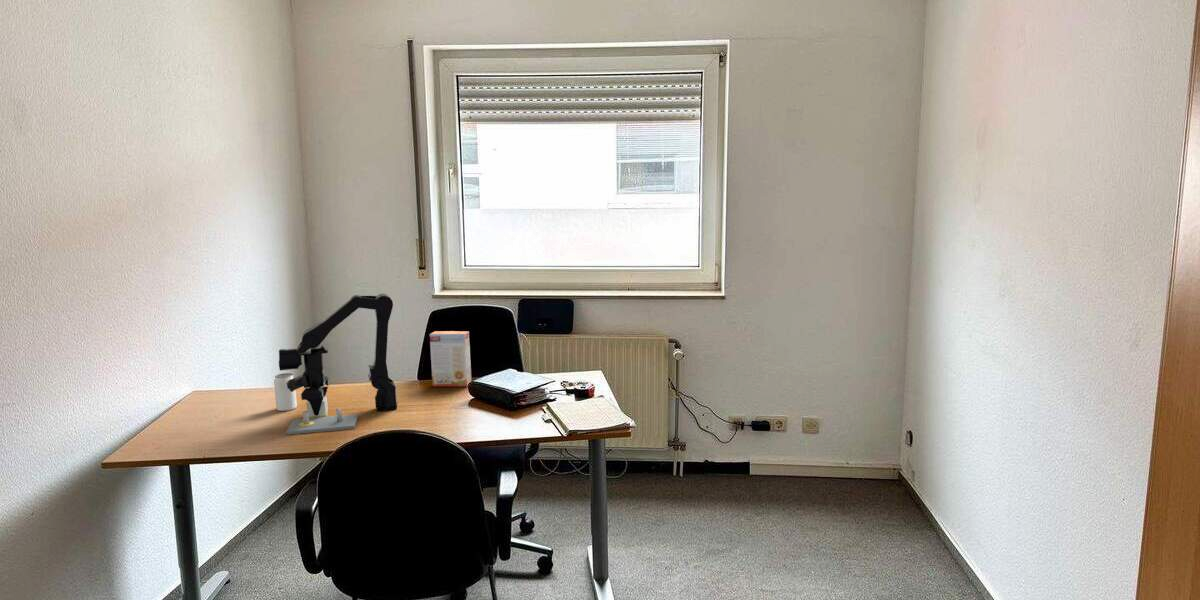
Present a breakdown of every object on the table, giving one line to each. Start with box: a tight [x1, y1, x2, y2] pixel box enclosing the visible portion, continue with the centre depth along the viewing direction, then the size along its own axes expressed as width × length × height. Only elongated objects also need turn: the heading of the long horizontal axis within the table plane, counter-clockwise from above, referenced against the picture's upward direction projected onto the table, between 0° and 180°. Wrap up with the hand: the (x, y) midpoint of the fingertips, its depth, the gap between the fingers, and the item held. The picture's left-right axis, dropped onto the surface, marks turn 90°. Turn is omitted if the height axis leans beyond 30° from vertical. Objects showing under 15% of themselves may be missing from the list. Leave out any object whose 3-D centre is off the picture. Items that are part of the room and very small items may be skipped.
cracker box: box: [429, 330, 472, 388], centre depth 258 cm, size 14×6×21 cm, turn 83°
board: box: [285, 407, 359, 436], centre depth 215 cm, size 20×12×5 cm, turn 105°
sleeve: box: [305, 395, 329, 418], centre depth 223 cm, size 6×6×6 cm
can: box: [273, 372, 298, 412], centre depth 232 cm, size 6×6×12 cm
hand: (317, 412), depth 224 cm, fingers closed on sleeve, 6 cm apart
